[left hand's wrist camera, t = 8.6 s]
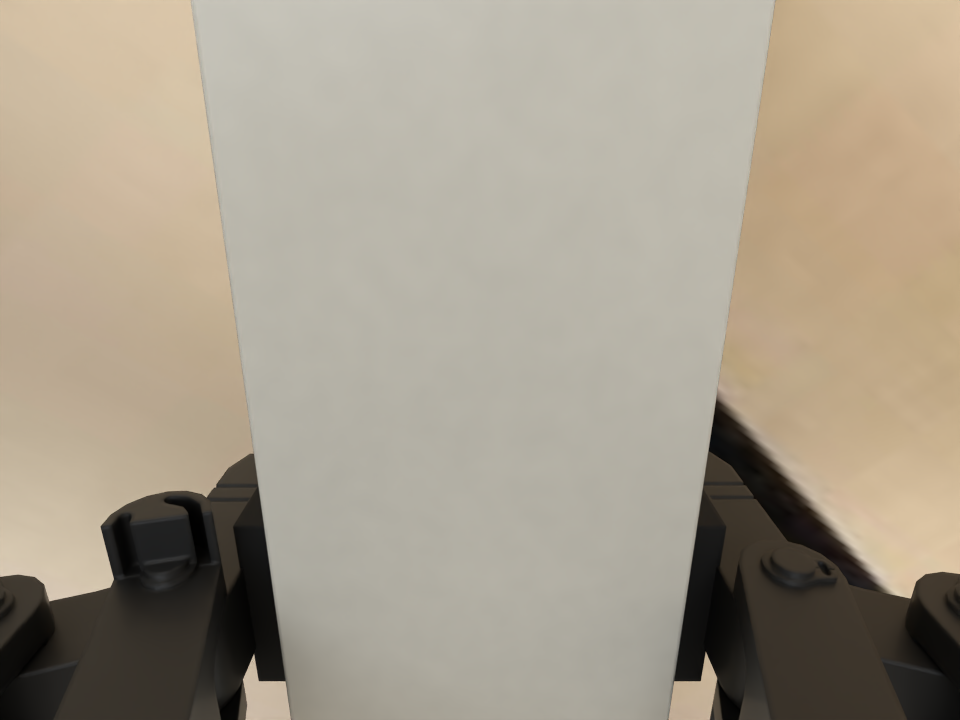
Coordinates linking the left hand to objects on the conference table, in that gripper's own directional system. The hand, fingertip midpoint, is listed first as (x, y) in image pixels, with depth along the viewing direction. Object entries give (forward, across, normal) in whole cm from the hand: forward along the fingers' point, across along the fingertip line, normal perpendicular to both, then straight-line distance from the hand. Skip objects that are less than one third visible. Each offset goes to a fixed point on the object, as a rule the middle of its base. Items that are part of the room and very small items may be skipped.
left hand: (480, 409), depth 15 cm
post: (+1, 0, -30) cm, 30 cm away
